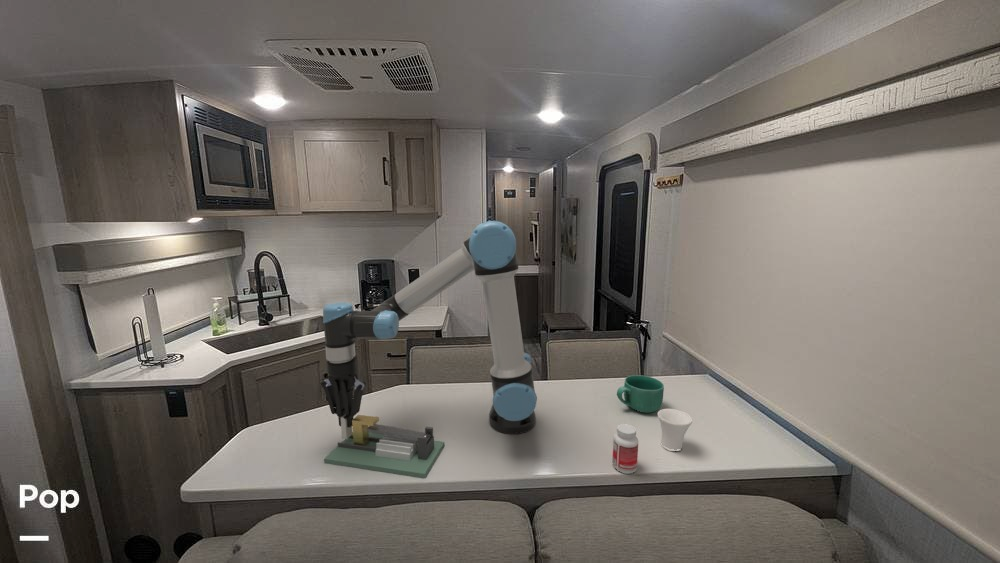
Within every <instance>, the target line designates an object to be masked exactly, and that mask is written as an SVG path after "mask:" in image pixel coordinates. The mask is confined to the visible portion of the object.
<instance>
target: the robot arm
mask: <svg viewBox="0 0 1000 563" xmlns="http://www.w3.org/2000/svg"><path fill="white" fill-rule="evenodd" d="M473 271H474V275H475V277H477V278H478V279H480V280H481V284H482V290H483V297H484V303H485V304H484V305H485V309H486V310H485V311H486V316H487V323H488V330H489V336H490V344H491V349H492V357H493V365H492V366H491V367H490V369H489V372H490V374H489V375H490V380H491V387H492V393H493V396H492V405H491V408H490V411H489V414H488V421H489V422H488V423H489V425H490V427H491V428H493V430H495V431H497V432H500V433H503V434H507V435H518V434H523V433H527V432H529V431H531V430H532V429H533V428H534V427H535V426H536V423H537V421H536V419H537V418H536V413H535V409H536V407H537V400H538V397H537V393H536V390H535V382H534V377H533V368H532V358H531V355H530V354H529V353H527V352H525V350H524V343H523V335H522V329H521V328H522V327H521V321H520V314H519V313H520V312H519V306H518V305H519V304H518V299H517V290H516V283H515V275H516V274H517V272H518V271H519V263H518V255H517V239H516V236H515V234H514V231H513V230H512V229H511V227H509V226H508V225H507V224H505V223H504V222H501V221H499V220H488V221H484V222H482V223H480V224H478V225H477V226H476V227H475V228H474V229H473V230H472V232H471V234H470V236H469V237H468V238H467V239H466V240H464V241H463V242H462V244H461V248H459V249H458V250H456V251H455V252H453V253H452V254H451V255H449V256H447V257H446V258H445V259H443V260H442V261H440V262H439V263H438V264H436V265H435V266H433V267H432V268H431V269H429V270H427V271H426V272H425V273H423V274H422V275H421V276H418V278H416V279H414V280H413V281H412V282H410V283H409V284H407V285H406V286H405V287H403V288H402V289H400V290H399V291H398V292H396V293H395V294H394V295H392V296H390V297H389V298H388V299H386V300H384V301H383V302H381V304H379V305H377V306H375V307H374V308H373V309H372V310H361V311H360V310H354V308H353V305H352V303H350V302H332V303H329V304H327V305H325V306H324V307H323V309H322V318H323V319H322V324H323V331H324V332H323V333H324V341H325V342H324V344H325V346H324V347H325V359H326V372H327V374H328V376H327V378H326V379H324V380H322V381H321V382H320V385H321V387H322V389H323V390H324V392H325V396H326V399H327V400H326V401H327V402H328V407H329V410H330V412H331V414H332V415H336V416H337V418H338V426H339V427H340V429H341V439H343V440H345V439H348V438H349V437H350V436H351V435H352V432H353V427H352V420H353V419H354V417H356V416H357V414H358V413H360V411H361V404H362V399H363V394H364V393H363V392H364V388H365V387H366V386H367V383H366V381H362V382H361V380H359V378H358V375H357V358H356V342H355V341H356V340H357V339H369V340H370V339H373V340H377V339H378V340H385V339H395V337H396V336H397V335H398V331H399V328H400V327H399V326H400V321H401V320H403V319H405V318H406V317H407V316H409V315H411V313H413V312H414V311H416V310H418V309H419V308H420V307H422V306H423V305H425V304H426V303H428V302H429V301H431V300H432V299H434V298H435V297H437V296H438V295H439V294H441V293H442V292H444V291H445V290H447V289H448V288H450V287H451V286H453V285H454V284H455V283H457V282H458V281H460V280H461V279H463V278H464V277H467V275H469V274H470V273H472V272H473ZM355 339H356V340H355ZM353 392H354V393H353Z"/></svg>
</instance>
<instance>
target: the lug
mask: <svg viewBox="0 0 1000 563" xmlns="http://www.w3.org/2000/svg"><path fill="white" fill-rule="evenodd" d="M379 421H380V418H379V416H372V415H364V414H358V415H357V414H356V415H355V416H354V417H353V420H352V432H353V441H354V444H355V445H362V446H365V445H366V444H367V443H368V442H369V432H367V428H368V427H369V426H374V425H375V424H378V422H379Z"/></svg>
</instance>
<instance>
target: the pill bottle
mask: <svg viewBox="0 0 1000 563" xmlns="http://www.w3.org/2000/svg"><path fill="white" fill-rule="evenodd" d="M636 435H637V429H636V428H635V426H633V425H630V424H626V423H620V424H618V425H617V427H616V432H615V433H614V435H613V442H612V460H611V461H612V463H613V464H612V467H613V468H614V469H615V468H616V469H617V470H616V469H615V470H616V471H618V472H619V471H620V472H619V473H621V472H622V474H625V475H628V474H629V475H630V474H633V472H634V473H635V472H636V471H637V469H638V457H639V456H638V454H639V453H638V452H639V439H638V437H637V436H636Z"/></svg>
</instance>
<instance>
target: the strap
mask: <svg viewBox="0 0 1000 563" xmlns="http://www.w3.org/2000/svg"><path fill="white" fill-rule="evenodd" d="M367 432H369V433H375V434H380V435H386V436H391V437H397V438H402V439H408V440H413V441H418V437H419V436H424V437H426V443H427V441H428V440H429V438H430V437H431V433H430V432H426V433H425V431H424V432H422V431H418V430H417V431H416V430H411V429H405V428H400V427H394V426H388V425H383V424H378V423H376V424H375V425H374V426H368V428H367Z"/></svg>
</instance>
